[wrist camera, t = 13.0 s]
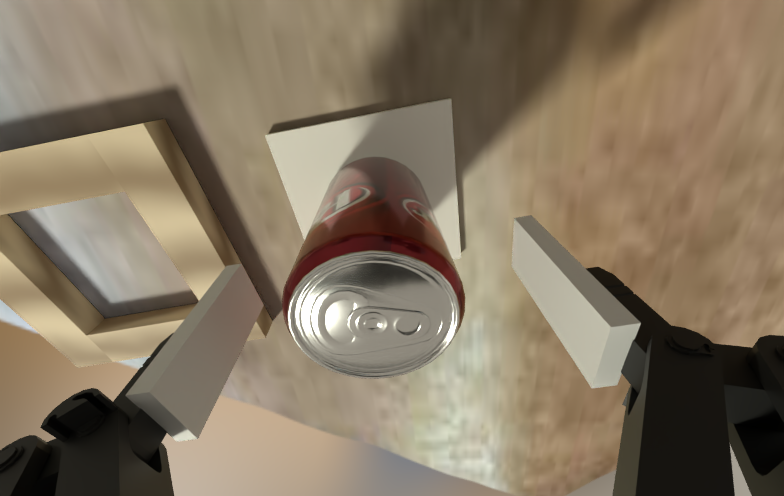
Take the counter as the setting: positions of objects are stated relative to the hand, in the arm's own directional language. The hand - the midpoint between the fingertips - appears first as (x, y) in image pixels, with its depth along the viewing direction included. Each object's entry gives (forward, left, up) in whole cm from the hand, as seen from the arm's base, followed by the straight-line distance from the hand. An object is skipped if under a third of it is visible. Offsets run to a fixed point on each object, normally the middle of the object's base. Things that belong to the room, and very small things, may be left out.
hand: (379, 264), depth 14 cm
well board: (+1, -21, -9) cm, 23 cm away
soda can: (0, 0, -8) cm, 8 cm away
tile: (0, 0, -9) cm, 9 cm away
